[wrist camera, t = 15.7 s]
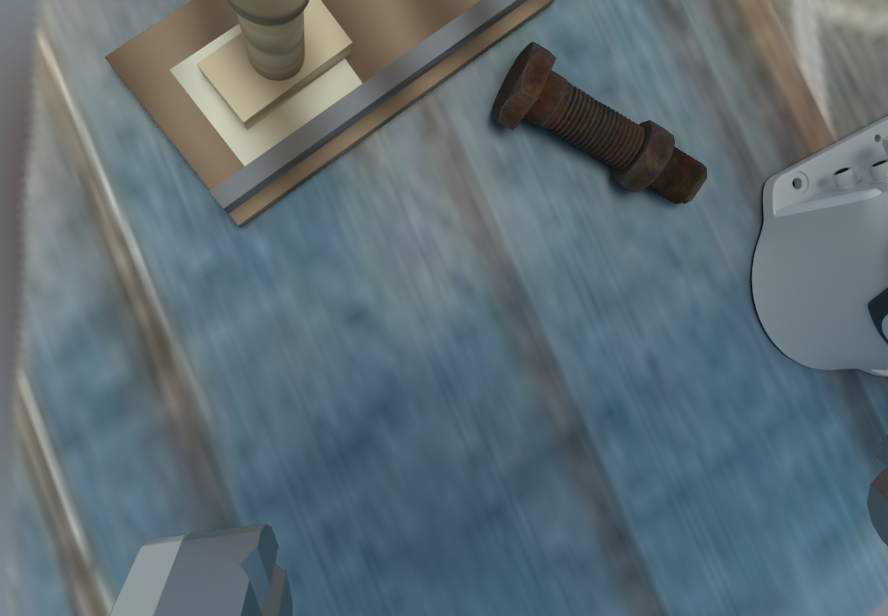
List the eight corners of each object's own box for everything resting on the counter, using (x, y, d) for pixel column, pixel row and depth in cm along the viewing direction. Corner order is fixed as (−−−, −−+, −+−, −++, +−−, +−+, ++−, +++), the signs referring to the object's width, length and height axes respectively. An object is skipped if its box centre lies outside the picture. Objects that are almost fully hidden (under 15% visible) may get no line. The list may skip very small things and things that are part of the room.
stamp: (308, -1, 39) (308, -128, 27) (350, 54, 39) (368, -46, 27) (202, 75, 37) (152, -22, 26) (247, 130, 38) (218, 60, 26)
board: (448, -154, 42) (463, -199, 38) (551, 4, 43) (575, -24, 40) (112, 66, 38) (89, 40, 34) (240, 227, 40) (233, 221, 36)
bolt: (658, 202, 48) (488, 104, 44) (702, 144, 46) (527, 36, 42) (683, 232, 43) (494, 124, 39) (734, 168, 41) (538, 48, 37)
